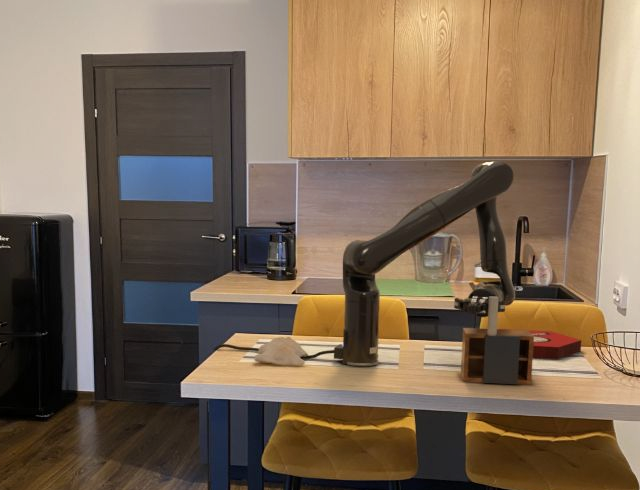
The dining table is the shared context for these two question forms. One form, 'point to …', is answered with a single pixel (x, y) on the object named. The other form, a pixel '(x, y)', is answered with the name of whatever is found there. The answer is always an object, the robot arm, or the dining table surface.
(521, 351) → the cupboard
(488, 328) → the sliding door
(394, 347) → the dining table surface
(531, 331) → the plaque
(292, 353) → the arrowhead
